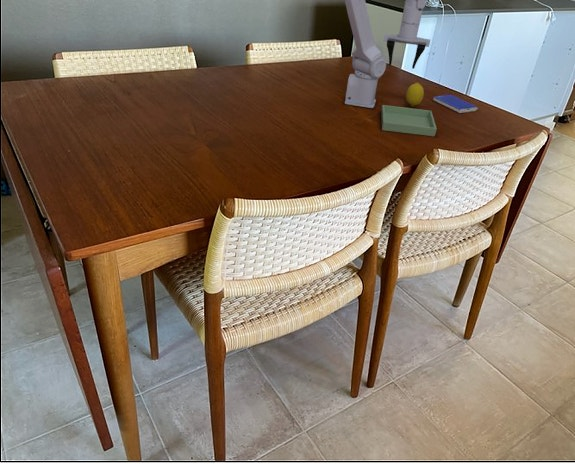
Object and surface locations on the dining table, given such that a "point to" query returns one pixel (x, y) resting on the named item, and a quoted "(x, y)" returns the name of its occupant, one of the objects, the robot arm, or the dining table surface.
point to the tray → (408, 120)
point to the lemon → (414, 94)
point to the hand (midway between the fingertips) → (401, 66)
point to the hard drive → (455, 103)
